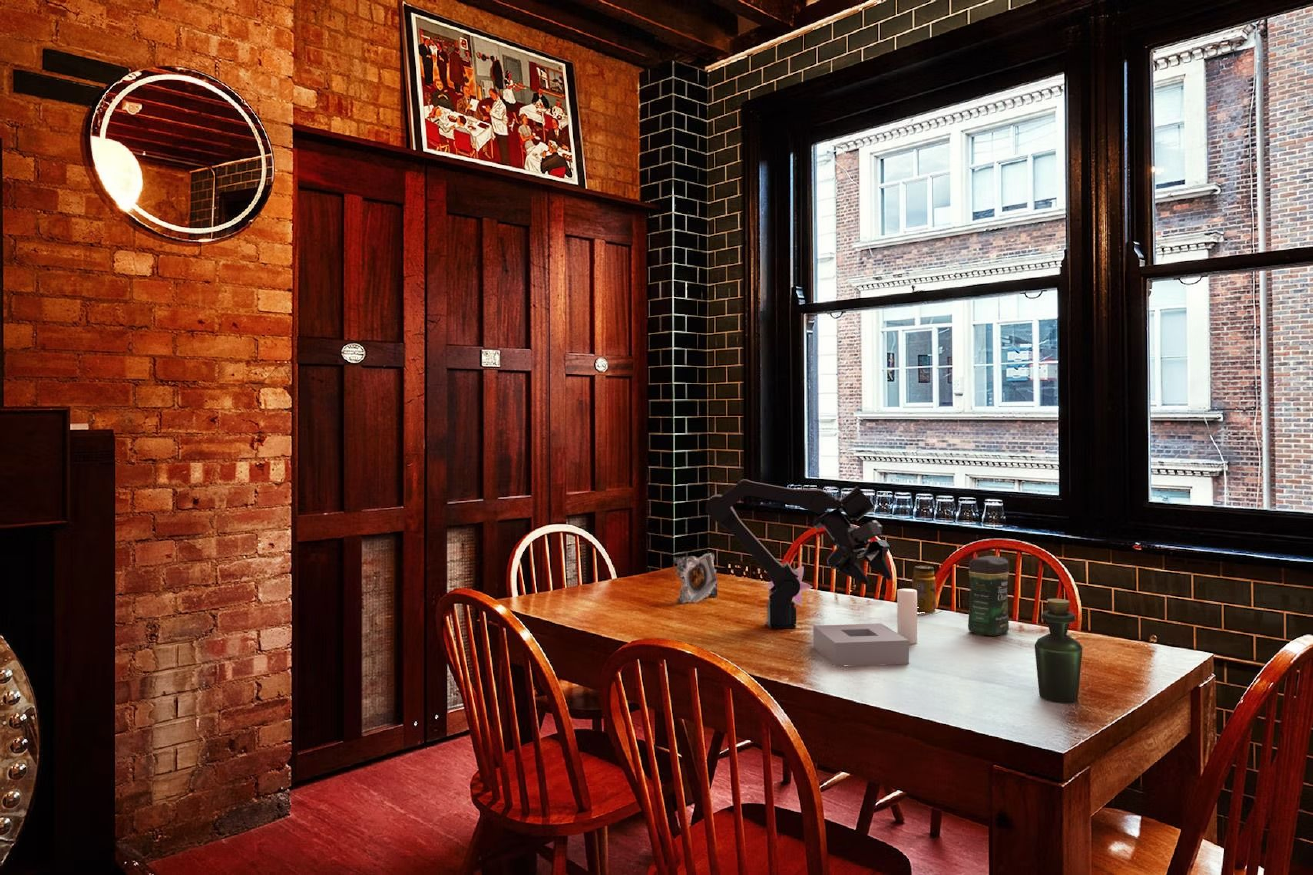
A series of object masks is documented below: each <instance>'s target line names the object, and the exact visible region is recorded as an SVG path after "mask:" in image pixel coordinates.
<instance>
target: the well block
mask: <svg viewBox="0 0 1313 875" xmlns="http://www.w3.org/2000/svg"><path fill="white" fill-rule="evenodd" d="M812 631H813V634H812V635H813V637H812V640H813V646H812V647H813V649H814V650H815V651H816V652H817V653H819V654H820V655H821V656H823V657H824V658H825V659H826V660H827V661H828V662H830V664H831V665H833V666H834V665H835V666H840V667H845V666H844V665H865V666H882V665H881V664H891V665H909V664H910V644H909V640H908V639H906V638H904V637H903V636H901V635H899V634H898V632H897V631H895V630H893V629H891V628H890V627H888V626H887V625H885V624H883V623H881V622H879V623H856V624H855V623H853V624H852V623H851V624H848V623H847V624H829V625H828V624H827V625H825V624H823V625H821V624H820V625H813V630H812ZM835 666H834V667H835Z"/></svg>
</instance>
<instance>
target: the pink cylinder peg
mask: <svg viewBox="0 0 1313 875" xmlns="http://www.w3.org/2000/svg"><path fill="white" fill-rule="evenodd" d="M896 593H897V595H896V597H897V598H896V600H897V601H896V602H897V604H896V606H897V608H896V609H897V614H896V615H897V621H896V622H897V623H896V624H897V625H896V626H897V627H896V628H897V631H896V632H897V633H898V634H899V635H901V636H903V637H904V638H906V639H908V640H909V645H916V644H918V614H917V590H913V589H912V588H900V589H897V591H896ZM915 643H916V644H915Z"/></svg>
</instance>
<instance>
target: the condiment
mask: <svg viewBox="0 0 1313 875" xmlns="http://www.w3.org/2000/svg"><path fill="white" fill-rule="evenodd" d="M911 579H912V580H911V584H912V588H911V589H913V590H917V607H919V608H917V612H925V613H921V614H919V615H921V616H922V615H929V614H935V613H941V612H940V611H941V610H940V611H938V610H939V609H936V602H937V601H936V597H937V596H936V594H937V593H936V592H937V591H936V587H937V586H936V577H935V568H934V567H933V566H931V565H916V566H914V567H913V576H912V578H911Z"/></svg>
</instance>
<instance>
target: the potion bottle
mask: <svg viewBox="0 0 1313 875" xmlns="http://www.w3.org/2000/svg"><path fill="white" fill-rule="evenodd" d="M1046 601H1047V606H1048V610H1044V611H1042V614H1041V617H1040V618H1041V619H1042V620H1044V621H1045V622H1046V623H1047V626H1048V630H1049V633H1047V634H1045V635H1044V636H1040V637H1038V638H1037V640H1036V642H1035V644H1034V652H1035V664H1036V665H1035V666H1036V673H1037V674H1036V676H1037V685H1038V695H1039V696H1040V697H1041V698H1042V699H1043V700H1045V701H1048V702H1052V703H1058V704H1072V703H1075V702H1077V701H1078V700H1079V691H1080V690H1079V689H1080V683H1081V682H1080V679H1081V669H1082V660H1083V649H1084V648H1083V646H1082V644H1081V642H1079V641H1078V640H1076V639H1075V638H1073V637H1071V636H1070V635H1068V631H1069V628H1070V624H1071V623H1074V622H1076V621H1077V619H1076V617H1075V613H1073V612H1070V611H1069V608H1070V607H1069V606H1070V600H1068V599H1063V598H1047V600H1046Z"/></svg>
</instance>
